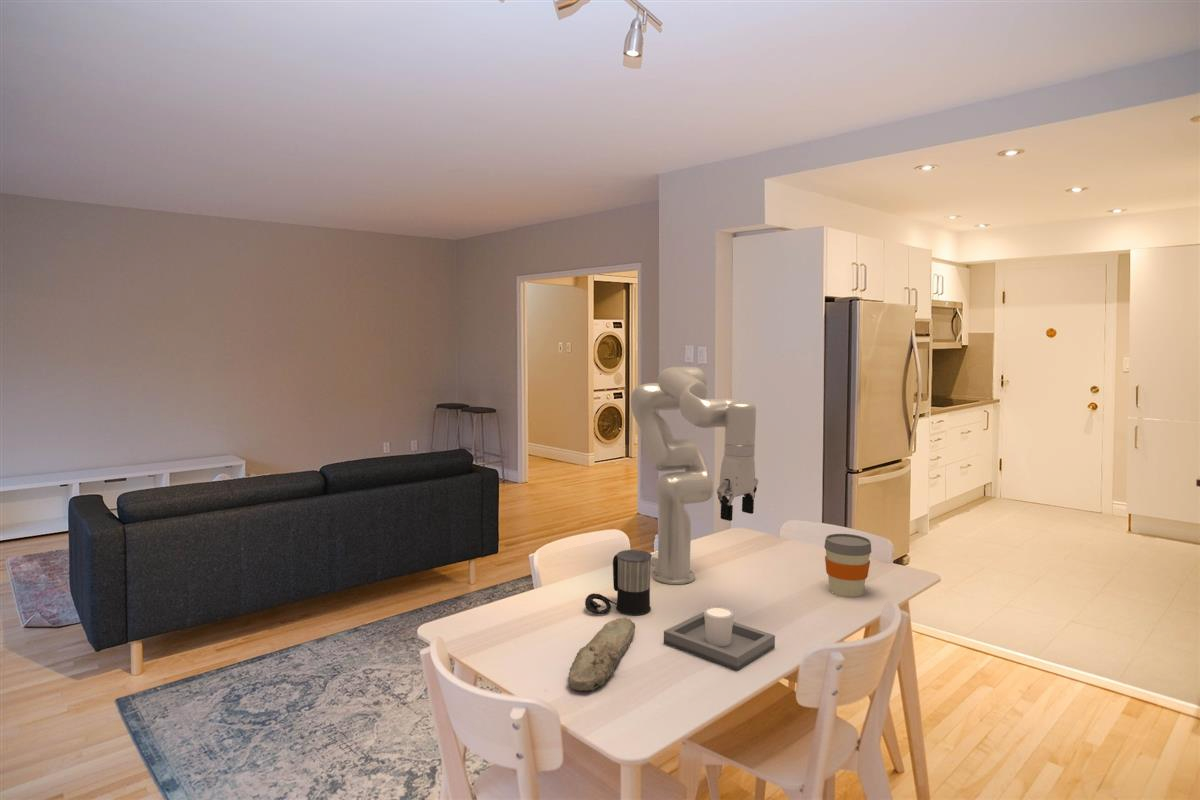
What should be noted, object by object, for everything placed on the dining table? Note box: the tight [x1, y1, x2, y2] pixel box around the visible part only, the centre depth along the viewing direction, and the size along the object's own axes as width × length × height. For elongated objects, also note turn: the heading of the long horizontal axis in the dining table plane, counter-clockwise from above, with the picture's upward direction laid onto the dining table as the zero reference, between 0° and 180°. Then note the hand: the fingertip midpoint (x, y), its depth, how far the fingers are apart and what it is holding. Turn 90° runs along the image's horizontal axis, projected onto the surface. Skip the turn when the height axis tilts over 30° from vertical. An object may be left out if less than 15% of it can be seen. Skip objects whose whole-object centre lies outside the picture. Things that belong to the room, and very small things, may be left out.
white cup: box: [703, 606, 735, 646], centre depth 165 cm, size 7×7×7 cm
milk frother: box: [584, 549, 653, 616], centre depth 186 cm, size 14×16×15 cm
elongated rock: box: [567, 617, 636, 692], centre depth 159 cm, size 35×5×10 cm
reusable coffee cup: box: [824, 533, 872, 598], centre depth 201 cm, size 12×13×15 cm
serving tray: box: [663, 611, 776, 672], centre depth 165 cm, size 20×16×3 cm
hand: (737, 516), depth 183 cm, fingers open, 9 cm apart
